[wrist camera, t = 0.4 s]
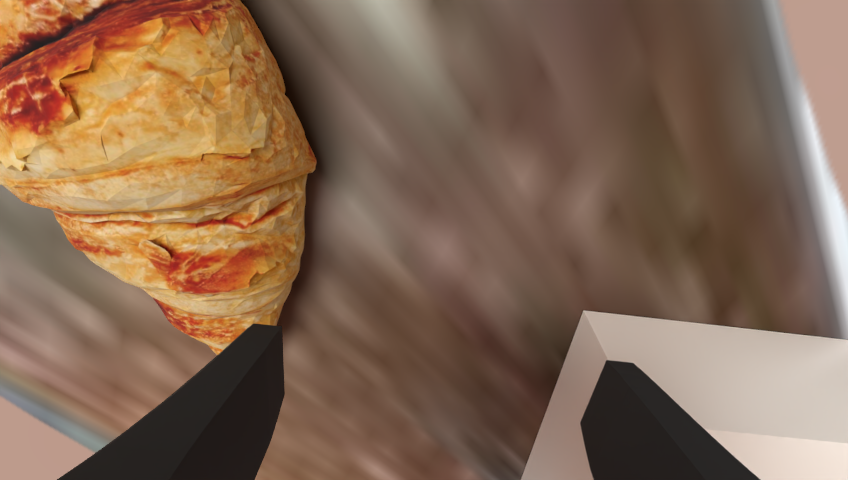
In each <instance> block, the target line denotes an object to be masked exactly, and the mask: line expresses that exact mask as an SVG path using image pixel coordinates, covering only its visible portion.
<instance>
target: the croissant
mask: <svg viewBox="0 0 848 480" xmlns="http://www.w3.org/2000/svg"><path fill="white" fill-rule="evenodd" d="M316 163H317V160H316V158H315V156H314V153H313V151H312V149H311V147H310V145H309V143H308V141H307V139H306V137H305V132H304V130H303V127H302V124H301V122H300V120H299V118H298V117H297V115H296V113H295V110H294V108H293V106H292V104H291V102H290V100H289V99H288V98H287V97H286V95H285V85H284V80H283V77H282V74H281V72H280V69H279V67H278V64H277V62H276V60H275V58H274V56H273V55H272V53H271V51H270V50H269V48H268V46H267V44H266V42H265V40H264V38H263V36H262V34H261V32H260V30H259V28H258V27H257V25H256V23H255V21H254V20H253V18H252V16H251V14H250V13H249V11H248V9H247V8H246V7H245V6H244V5H243V4H242V2H241V1H240V0H0V184H1V185H3V186H4V187H6V188H7V189H8V190H9V191H11V192H12V193H13V194H14V195H16V196H17V197H18V198H19V199H20V200H22V201H23V202H26V203H29V204H31V205H34V206H39V207H44V208H49V209H51V210H52V211H54V214H55V217H56V219H57V221H58V222H59V224H60V225H61V227H62V228H63V230H64V232H65V234H66V236H67V239H68V240H69V241H70V243H71V244H72V245H73V246H74V247H75V249H77V250H80V251H83V252H84V254H85V255H86V256H87V257H88V258H89V259H90V260H91V261H92V262H93V263H95V264H97V265H98V266H100V267H101V268H103V269H105V270H106V271H108V272H109V273H111V274H113V275H115V276H116V277H118V278H119V279H121V280H122V281H123V282H126V283H129V284H131V285H134V286H137V287H139V288H142V289H143V290H144V291H146V292H147V293H148V294H149V295H150V296H152V297H153V299H154V300H155V301H156V303H157V304H158V305H159V307H160V308H161V310H162V311H163V313H164V315H165V316H166V318H167V319H168V321H169V322H170V323H171V324H172V325H173V326H174V327H176V328H177V329H179V330H180V331H182V332H184V333H186V334H188V335H189V336H191V337H193V338H195V339H197V340H199V341H201V342H203V343H206V344H208V345H209V347H210V348H211V349H212V350H213V351H214V352H215V353H216V354H217V355H218V354H219V353H221V352H222V351H223V350H224V349H225V348H226V347H227V346H228V345H229V344H231V343H232V342H233V341H234V340H235V339H236V338H237V337H238V336H239V335H240V334H242V333H243V332H244V331H245V330H246V329H247V328H248V327H249V326H251V325H252V324H263V325H273V326H277V322H278V319H279V316H280V313H281V310H282V307H283V304H284V302H285V301H286V299H287V297H288V295H289V293H290V291H291V287H292V282H293V281H294V280H295V278H296V276H297V274H298V272H299V268H300V258H301V254H302V252H303V249H304V240H305V229H304V210H305V204H306V196H305V186H306V180H307V174H308V173H312V172H313V171H314V170H315V166H316Z"/></svg>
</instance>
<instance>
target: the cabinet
mask: <svg viewBox="0 0 848 480" xmlns="http://www.w3.org/2000/svg"><path fill="white" fill-rule="evenodd" d="M606 360H611V361H621V362H630V363H634V364H635V365H636V366H637V367H638V368H640V369H641V370H642V371H643V372H644V373H645V374H646V375H647V376H649V377H650V378H651V379H652V380H653V381H654V382H655V383H656V384H657V385H658V386H659V387H660V388H661V389H662V390H664V391H665V392H666V393H667V394H668V395H669V396H670V397H671V398H672V399H673V400H674V401H675V402H676V403H677V404H678V405H679V406H680V407H681V408H682V409H684V410H685V411H686V412H687V413H688V414H689V415H690V416H691V417H692V418H693V419H694V420H695V421H696V422H697V423H698V424H699V425H700V426H702V427H703V428H704V429H705V430H706V431H707V432H708V433H709V434H710V435H711V436H712V437H713V438H714V439H716V440H717V441H718V442H719V443H720V444H721V445H722V446H723V447H724V448H725V449H726V450H728V451H729V452H730V453H731V454H732V455H733V456H734V457H735V458H736V459H738V460H739V461H740V462H741V463H742V464H743V465H744V466H745V467H747V468H748V469H749V470H750V471H751V472H752V473H753V474H755V475H756V476H757V477H758V478H759V479H760V480H848V340H844V339H835V338H826V337H817V336H808V335H799V334H790V333H781V332H772V331H763V330H754V329H745V328H737V327H728V326H719V325H710V324H701V323H692V322H683V321H674V320H665V319H656V318H647V317H638V316H629V315H620V314H611V313H602V312H593V311H584V310H583V313H582V315H581V318H580V321H579V324H578V326H577V329H576V332H575V334H574V337H573V340H572V343H571V345H570V348H569V351H568V353H567V356H566V359H565V361H564V364H563V367H562V370H561V372H560V375H559V378H558V380H557V383H556V386H555V388H554V391H553V394H552V397H551V399H550V402H549V405H548V407H547V410H546V413H545V416H544V418H543V421H542V424H541V426H540V429H539V432H538V434H537V437H536V440H535V443H534V445H533V448H532V451H531V453H530V456H529V459H528V461H527V464H526V467H525V470H524V472H523V475H522V478H521V480H594V479H593V476H592V473H591V470H590V466H589V462H588V458H587V454H586V449H585V445H584V440H583V435H582V430H581V425H580V422H581V419H582V417H583V415H584V412H585V410H586V407H587V405H588V403H589V400H590V398H591V396H592V393H593V391H594V388H595V386H596V384H597V381H598V379H599V377H600V374H601V372H602V369H603V367H604V365H605V362H606Z"/></svg>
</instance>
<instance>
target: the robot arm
mask: <svg viewBox="0 0 848 480" xmlns="http://www.w3.org/2000/svg"><path fill="white" fill-rule="evenodd" d="M284 394H285V393H284V367H283V342H282V326H273V325H263V324H252V325H251V326H249V327H248V328H247V329H246V330H245V331H244V332H243V333H242V334H240V335H239V336H238V337H237V338H236V339H235V340H234V341H233V342H232V343H231V344H229V345H228V346H227V347H226V348H225V349H224V350H223V351H222V352H221V353H219V354H218V355H217V356H216V357H215V358H214V359H213V360H212V361H210V362H209V363H208V364H207V365H206V366H205V367H204V368H203V369H201V370H200V371H199V372H198V373H197V374H196V375H194V376H193V377H192V378H191V379H190V380H188V381H187V382H186V383H185V384H184V385H183V386H181V387H180V388H179V389H178V390H177V391H176V392H174V393H173V394H172V395H171V396H170V397H168V398H167V399H166V400H165V401H163V402H162V403H161V404H160V405H158V406H157V407H156V408H155V409H153V410H152V411H151V412H149V413H148V414H147V415H146V416H144V417H143V418H142V419H140V420H139V421H138V422H137V423H135V424H134V425H133V426H131V427H130V428H129V429H128V430H126V431H125V432H124V433H122V434H121V435H120V436H118V437H117V438H116V439H114V440H113V441H112V442H110V443H109V444H107V445H106V446H105V447H103V448H102V449H101V450H99V451H98V452H96V453H95V454H94V455H92V456H91V457H89V458H88V459H87V460H85V461H84V462H82V463H81V464H79V465H78V466H76V467H75V468H73V469H72V470H71V471H69V472H68V473H66V474H65V475H63V476H62V477H60V478H59V479H57V480H255V477H256V475H257V472H258V470H259V468H260V465H261V463H262V460H263V458H264V456H265V453H266V451H267V448H268V446H269V444H270V441H271V438H272V435H273V432H274V429H275V425H276V422H277V419H278V415H279V412H280V408H281V405H282V401H283V398H284ZM580 425H581V430H582V435H583V440H584V445H585V449H586V454H587V458H588V462H589V466H590V470H591V473H592V476H593V479H594V480H760V479H759V478H758V477H757V476H756V475H755V474H753V473H752V472H751V471H750V470H749V469H748V468H747V467H745V466H744V465H743V464H742V463H741V462H740V461H739V460H738V459H736V458H735V457H734V456H733V455H732V454H731V453H730V452H729V451H728V450H726V449H725V448H724V447H723V446H722V445H721V444H720V443H719V442H718V441H717V440H716V439H714V438H713V437H712V436H711V435H710V434H709V433H708V432H707V431H706V430H705V429H704V428H703V427H702V426H700V425H699V424H698V423H697V422H696V421H695V420H694V419H693V418H692V417H691V416H690V415H689V414H688V413H687V412H686V411H685V410H684V409H682V408H681V407H680V406H679V405H678V404H677V403H676V402H675V401H674V400H673V399H672V398H671V397H670V396H669V395H668V394H667V393H666V392H665V391H664V390H662V389H661V388H660V387H659V386H658V385H657V384H656V383H655V382H654V381H653V380H652V379H651V378H650V377H649V376H647V375H646V374H645V373H644V372H643V371H642V370H641V369H640V368H638V367H637V366H636V365H635V364H634V363H630V362H621V361H611V360H606V362H605V365H604V367H603V369H602V372H601V374H600V377H599V379H598V381H597V384H596V386H595V388H594V391H593V393H592V396H591V398H590V400H589V403H588V405H587V407H586V410H585V412H584V415H583V417H582V419H581V422H580Z"/></svg>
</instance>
